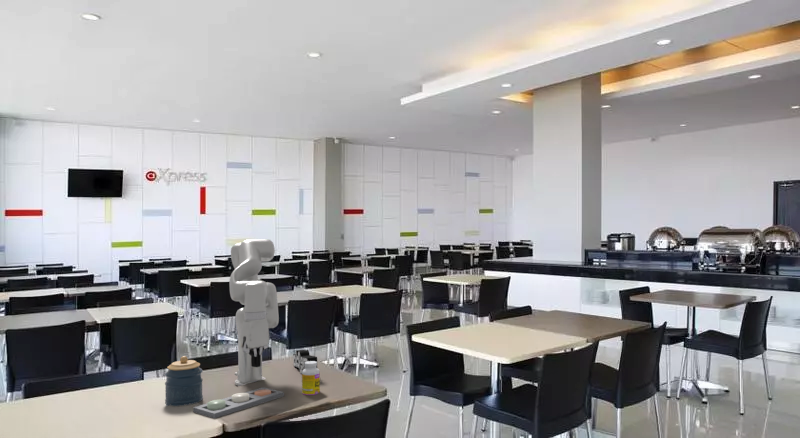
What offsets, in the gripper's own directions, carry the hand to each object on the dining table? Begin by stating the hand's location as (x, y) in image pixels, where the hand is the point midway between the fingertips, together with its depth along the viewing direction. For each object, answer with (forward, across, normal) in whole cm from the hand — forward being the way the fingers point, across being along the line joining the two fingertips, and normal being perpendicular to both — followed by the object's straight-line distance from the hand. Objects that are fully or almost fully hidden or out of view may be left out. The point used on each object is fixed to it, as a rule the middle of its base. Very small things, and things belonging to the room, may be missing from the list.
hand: (255, 366), depth 206 cm
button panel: (+13, +7, -1) cm, 15 cm away
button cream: (+12, +7, -1) cm, 14 cm away
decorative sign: (+13, -42, -18) cm, 48 cm away
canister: (+13, +15, -22) cm, 30 cm away
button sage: (+12, +17, -1) cm, 21 cm away
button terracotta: (+13, -3, 0) cm, 13 cm away
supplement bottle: (+14, -17, +11) cm, 24 cm away
